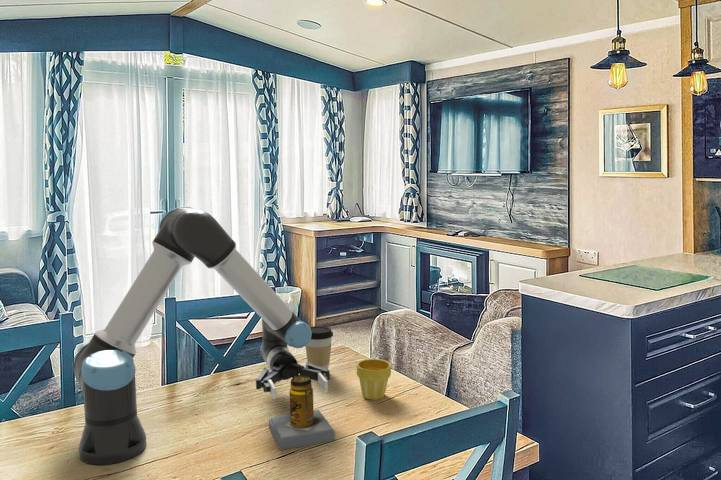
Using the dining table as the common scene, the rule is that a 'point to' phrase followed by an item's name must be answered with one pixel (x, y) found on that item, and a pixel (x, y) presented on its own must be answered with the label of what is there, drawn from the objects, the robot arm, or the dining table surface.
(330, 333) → the coffee cup
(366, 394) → the plant pot
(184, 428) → the dining table surface
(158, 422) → the dining table surface
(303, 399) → the condiment
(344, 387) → the dining table surface
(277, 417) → the grey square coaster
